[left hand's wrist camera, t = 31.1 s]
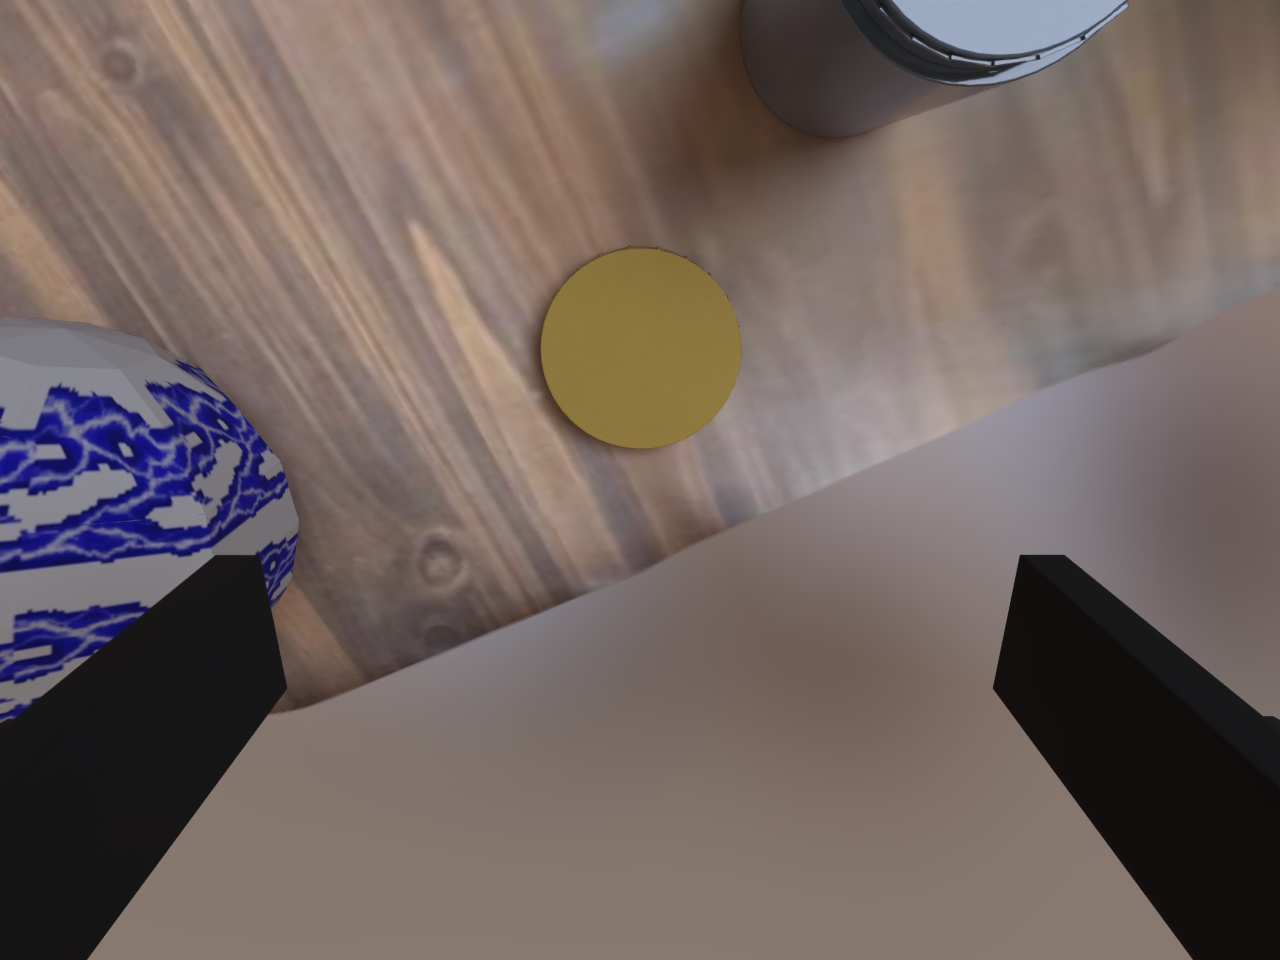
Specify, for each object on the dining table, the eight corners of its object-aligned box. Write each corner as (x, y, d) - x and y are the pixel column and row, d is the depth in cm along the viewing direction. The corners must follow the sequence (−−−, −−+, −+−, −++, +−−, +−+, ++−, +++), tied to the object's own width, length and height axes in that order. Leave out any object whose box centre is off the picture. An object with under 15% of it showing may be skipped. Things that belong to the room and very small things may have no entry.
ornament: (320, 446, 26) (264, 849, 33) (319, 321, 43) (281, 607, 49) (-558, 344, 18) (-397, 921, 24) (-136, 235, 34) (-109, 597, 41)
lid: (757, 264, 38) (762, 267, 36) (715, 453, 42) (718, 464, 40) (558, 227, 38) (554, 228, 36) (533, 423, 41) (528, 433, 39)
